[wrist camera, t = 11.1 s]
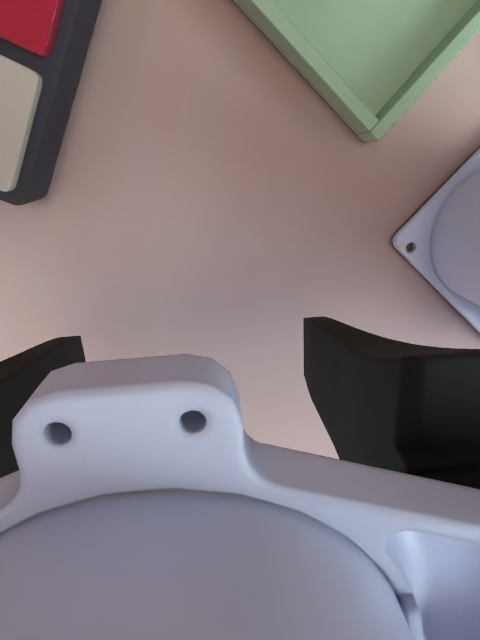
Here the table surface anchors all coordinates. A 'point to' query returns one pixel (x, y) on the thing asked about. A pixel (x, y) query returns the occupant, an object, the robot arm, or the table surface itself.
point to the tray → (367, 50)
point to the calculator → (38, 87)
